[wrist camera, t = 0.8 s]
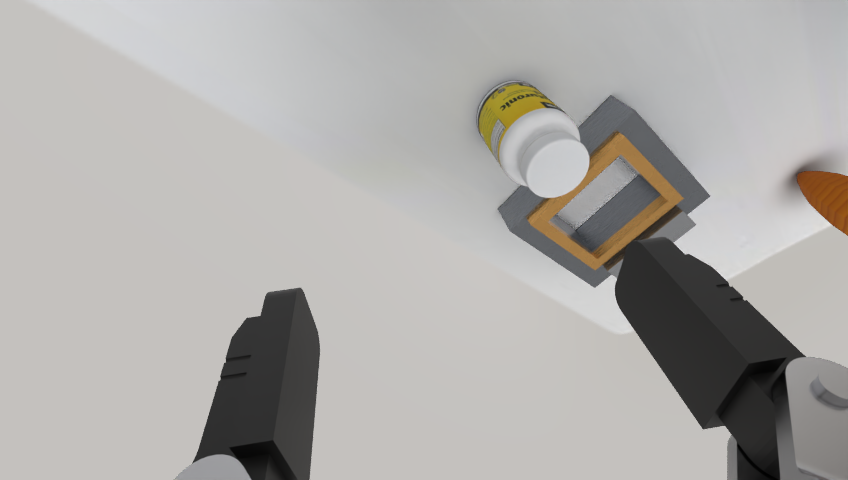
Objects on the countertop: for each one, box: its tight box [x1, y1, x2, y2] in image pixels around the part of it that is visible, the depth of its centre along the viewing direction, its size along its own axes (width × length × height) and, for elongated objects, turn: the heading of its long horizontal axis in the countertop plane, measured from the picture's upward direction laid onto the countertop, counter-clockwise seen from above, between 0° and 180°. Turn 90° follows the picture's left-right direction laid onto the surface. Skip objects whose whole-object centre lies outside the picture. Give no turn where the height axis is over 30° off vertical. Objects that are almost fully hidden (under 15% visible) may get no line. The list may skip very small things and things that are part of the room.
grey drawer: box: [498, 96, 710, 288], centre depth 38 cm, size 13×17×5 cm
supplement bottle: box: [477, 81, 589, 198], centre depth 29 cm, size 5×5×10 cm
